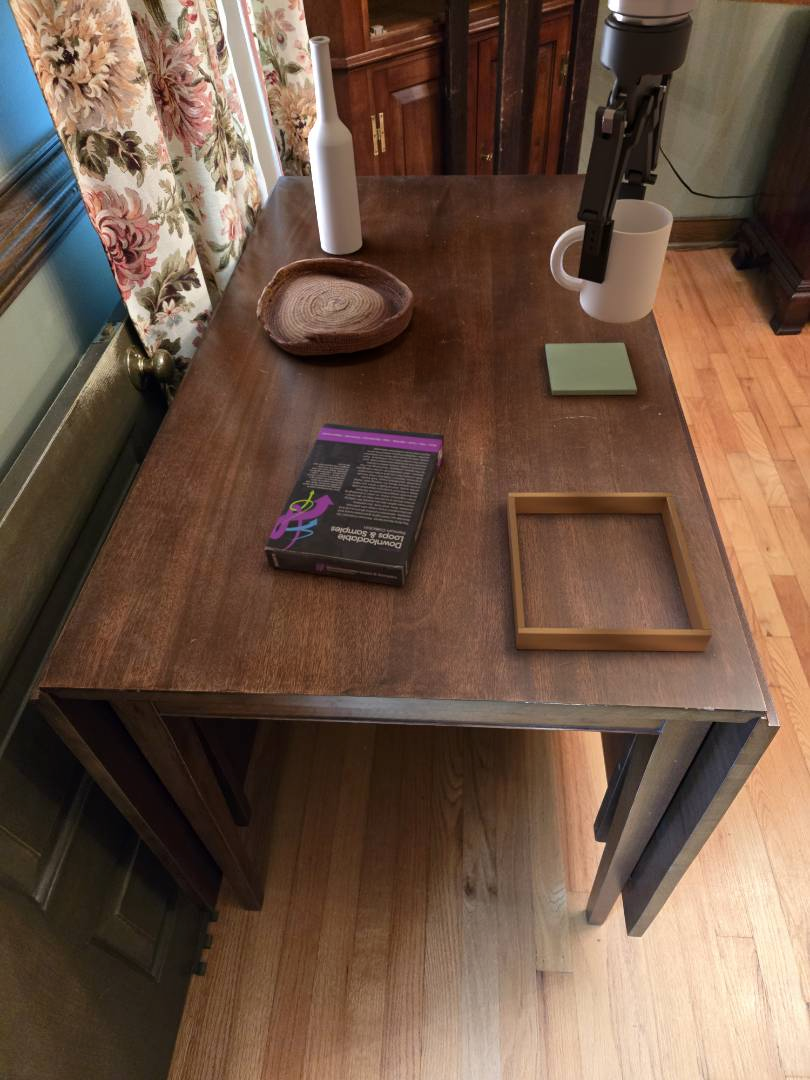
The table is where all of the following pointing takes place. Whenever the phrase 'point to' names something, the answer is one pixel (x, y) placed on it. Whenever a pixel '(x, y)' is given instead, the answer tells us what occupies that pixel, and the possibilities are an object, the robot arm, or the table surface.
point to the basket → (333, 307)
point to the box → (358, 504)
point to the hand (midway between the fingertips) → (607, 261)
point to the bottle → (332, 163)
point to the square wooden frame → (609, 637)
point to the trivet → (590, 369)
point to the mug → (622, 263)
